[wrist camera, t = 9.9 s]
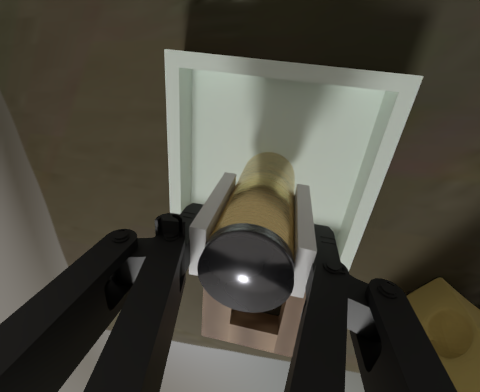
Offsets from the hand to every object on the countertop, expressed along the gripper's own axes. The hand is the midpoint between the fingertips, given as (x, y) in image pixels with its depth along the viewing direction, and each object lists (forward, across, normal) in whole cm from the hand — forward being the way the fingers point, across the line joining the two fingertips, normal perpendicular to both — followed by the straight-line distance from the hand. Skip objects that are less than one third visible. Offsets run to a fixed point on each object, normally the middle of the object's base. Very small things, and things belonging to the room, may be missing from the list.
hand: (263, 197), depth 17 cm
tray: (+7, 0, 0) cm, 7 cm away
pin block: (+7, -1, +16) cm, 17 cm away
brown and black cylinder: (+4, 0, 0) cm, 4 cm away
